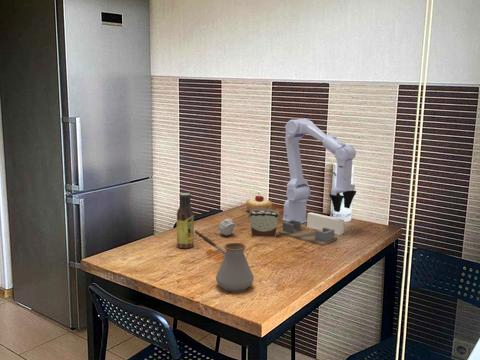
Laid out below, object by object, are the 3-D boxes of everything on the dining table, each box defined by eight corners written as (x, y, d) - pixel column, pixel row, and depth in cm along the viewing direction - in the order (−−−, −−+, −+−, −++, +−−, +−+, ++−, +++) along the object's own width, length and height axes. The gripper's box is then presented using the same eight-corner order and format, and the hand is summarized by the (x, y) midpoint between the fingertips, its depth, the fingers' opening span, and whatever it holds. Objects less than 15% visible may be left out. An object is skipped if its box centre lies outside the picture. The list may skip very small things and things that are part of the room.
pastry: (250, 216, 238) (250, 196, 236) (242, 209, 249) (243, 190, 247) (275, 214, 241) (276, 195, 239) (267, 207, 252) (267, 189, 251)
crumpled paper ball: (225, 239, 205) (225, 221, 204) (215, 234, 211) (215, 217, 210) (238, 236, 209) (238, 219, 208) (228, 231, 214) (228, 215, 213)
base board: (279, 233, 213) (279, 231, 212) (294, 228, 220) (294, 226, 220) (322, 245, 199) (322, 243, 199) (337, 239, 206) (337, 237, 206)
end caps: (282, 230, 214) (282, 222, 213) (291, 227, 218) (291, 219, 217) (325, 242, 200) (325, 233, 200) (334, 238, 205) (334, 229, 204)
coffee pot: (260, 284, 163) (261, 237, 160) (239, 297, 153) (240, 248, 150) (205, 269, 174) (205, 225, 171) (182, 281, 165) (182, 234, 162)
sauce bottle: (191, 249, 193) (190, 196, 189) (174, 248, 194) (173, 195, 190) (196, 244, 199) (195, 192, 195) (180, 242, 201) (179, 191, 196)
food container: (279, 233, 214) (280, 208, 212) (279, 237, 208) (280, 213, 206) (249, 231, 215) (249, 207, 213) (248, 236, 209) (248, 211, 207)
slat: (306, 227, 222) (307, 213, 221) (310, 226, 224) (310, 212, 223) (339, 235, 212) (340, 221, 211) (343, 234, 214) (343, 219, 212)
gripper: (343, 180, 202) (341, 215, 205) (362, 175, 213) (360, 208, 216) (327, 177, 207) (325, 211, 210) (346, 172, 217) (344, 204, 220)
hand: (342, 209), depth 213 cm, fingers open, 7 cm apart
